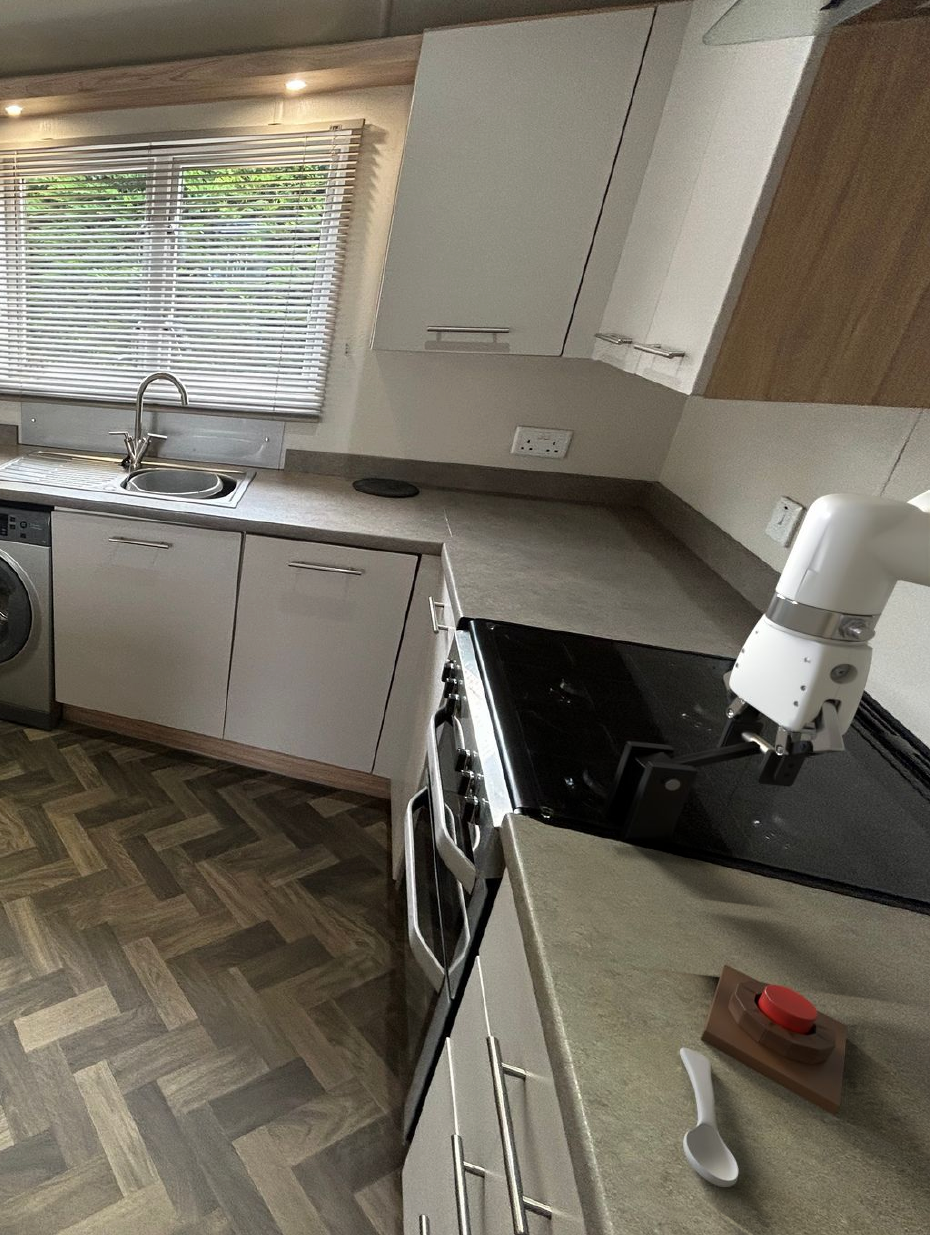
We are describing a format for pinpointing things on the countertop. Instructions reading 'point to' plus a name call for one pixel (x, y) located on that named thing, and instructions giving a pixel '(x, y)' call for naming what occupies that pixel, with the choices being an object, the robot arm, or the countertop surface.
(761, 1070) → the control block
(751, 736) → the switch lever
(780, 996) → the power button
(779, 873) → the countertop surface
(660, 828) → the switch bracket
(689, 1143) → the spoon
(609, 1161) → the countertop surface
